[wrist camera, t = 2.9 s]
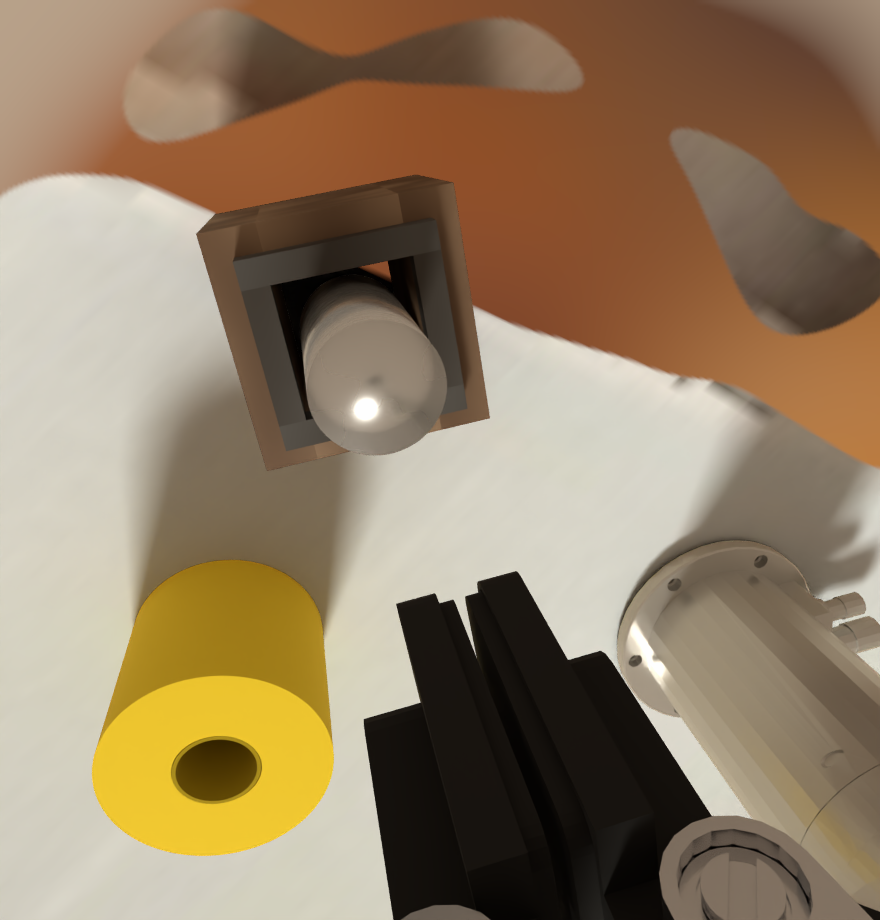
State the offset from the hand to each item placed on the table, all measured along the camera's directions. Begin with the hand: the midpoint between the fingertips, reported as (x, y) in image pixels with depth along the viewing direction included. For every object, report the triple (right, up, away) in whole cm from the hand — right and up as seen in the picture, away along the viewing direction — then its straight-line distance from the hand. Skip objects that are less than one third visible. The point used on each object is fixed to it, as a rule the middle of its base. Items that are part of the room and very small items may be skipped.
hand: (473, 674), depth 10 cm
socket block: (-5, +11, +25) cm, 27 cm away
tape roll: (-12, -7, +31) cm, 34 cm away
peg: (-4, +8, +18) cm, 20 cm away
